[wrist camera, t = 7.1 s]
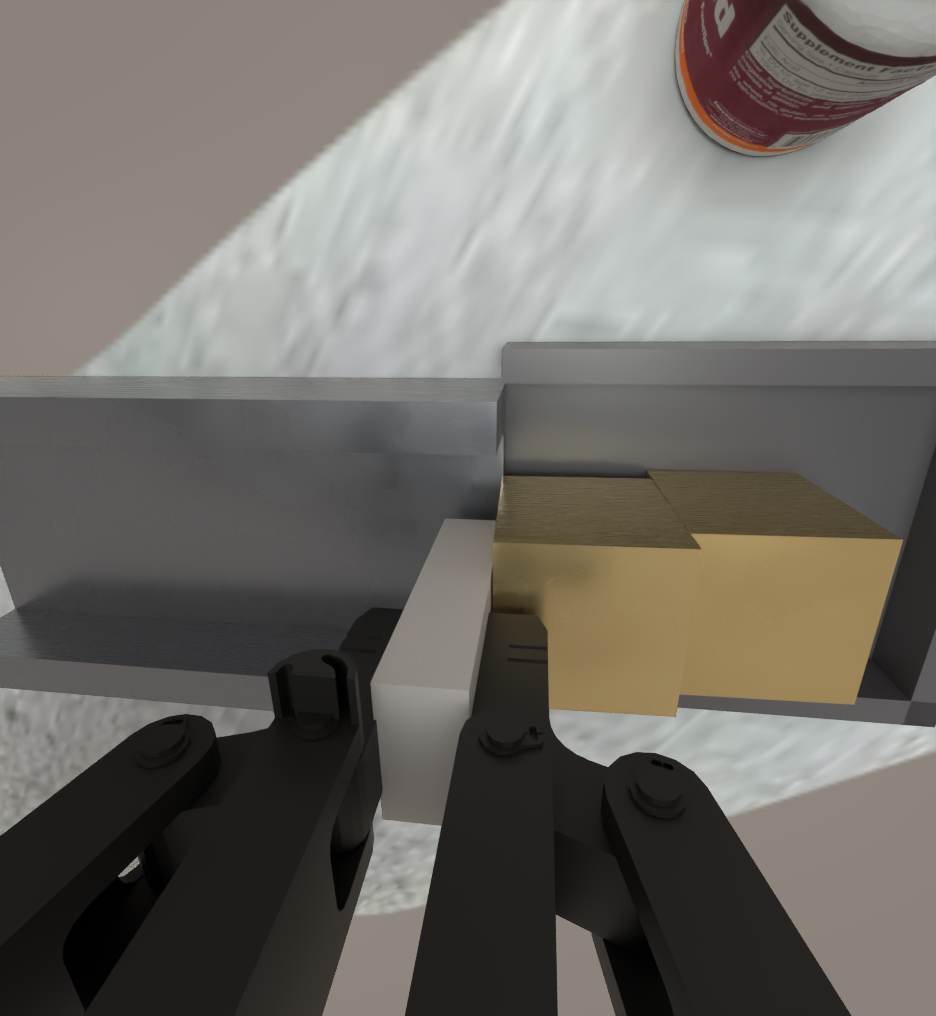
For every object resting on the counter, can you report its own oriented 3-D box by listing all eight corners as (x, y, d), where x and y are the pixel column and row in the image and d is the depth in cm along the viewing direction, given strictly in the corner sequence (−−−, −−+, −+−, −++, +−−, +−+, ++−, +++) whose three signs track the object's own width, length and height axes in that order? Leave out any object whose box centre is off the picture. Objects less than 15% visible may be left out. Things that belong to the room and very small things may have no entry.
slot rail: (60, 615, 21) (-45, 683, 17) (-16, 375, 18) (-166, 395, 14) (503, 644, 19) (494, 729, 15) (507, 378, 15) (497, 402, 12)
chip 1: (501, 602, 16) (492, 705, 12) (502, 475, 15) (493, 542, 11) (636, 608, 16) (676, 717, 12) (651, 478, 14) (701, 549, 10)
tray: (503, 644, 19) (498, 693, 16) (508, 342, 15) (502, 349, 13) (881, 669, 17) (935, 727, 15) (983, 340, 14) (1075, 347, 11)
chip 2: (632, 595, 17) (668, 693, 12) (646, 470, 15) (691, 533, 11) (769, 600, 16) (854, 704, 12) (796, 472, 15) (903, 539, 11)
